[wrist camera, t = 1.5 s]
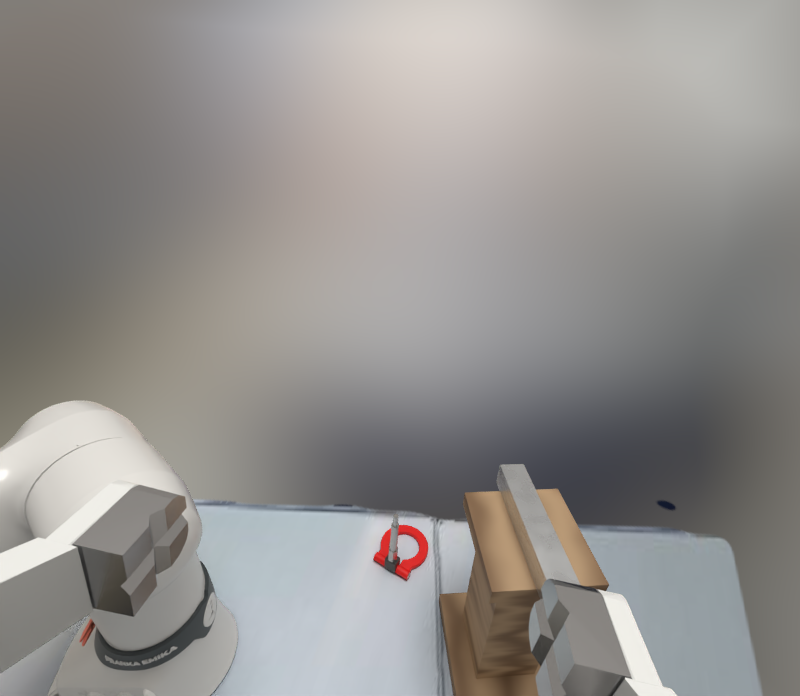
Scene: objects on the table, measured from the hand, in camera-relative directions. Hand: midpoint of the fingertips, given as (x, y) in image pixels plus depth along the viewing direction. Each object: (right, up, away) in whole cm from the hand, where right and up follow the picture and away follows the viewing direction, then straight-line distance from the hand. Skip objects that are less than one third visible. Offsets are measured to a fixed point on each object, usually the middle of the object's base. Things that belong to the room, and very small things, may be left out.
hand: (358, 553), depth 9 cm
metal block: (+16, -18, +32) cm, 40 cm away
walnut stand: (+15, -39, +48) cm, 63 cm away
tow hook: (+1, -32, +61) cm, 69 cm away
